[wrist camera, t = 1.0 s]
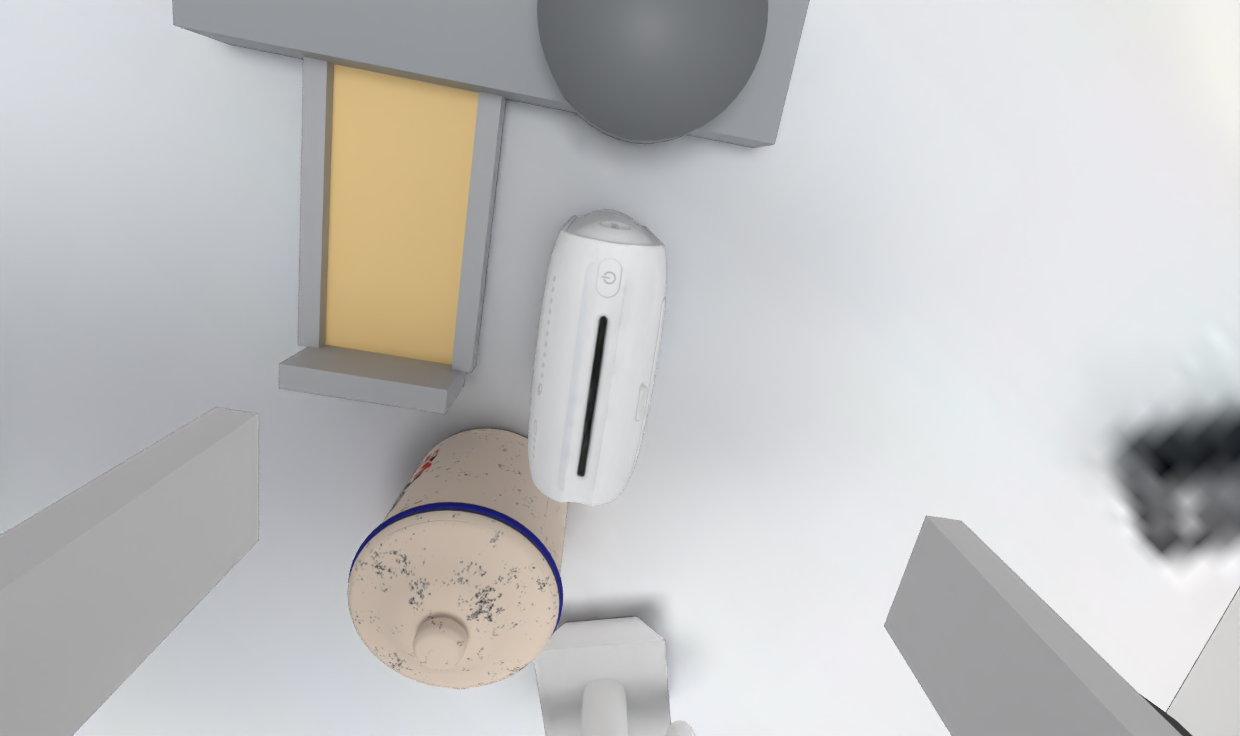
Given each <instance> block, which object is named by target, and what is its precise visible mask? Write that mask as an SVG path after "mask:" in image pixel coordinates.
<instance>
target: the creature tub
mask: <svg viewBox="0 0 1240 736" xmlns="http://www.w3.org/2000/svg"><path fill="white" fill-rule="evenodd" d="M1166 713H1167V714H1168V715H1170V716H1171V717H1172V718H1174V719H1175V720H1177V721H1178V722H1179V723H1180V724H1181V725H1182V726H1183V727H1184V728H1185V729H1186V730H1187V731H1188V732H1189V733H1190V734H1191V735H1192V736H1240V588H1239V590H1238V592H1237V593H1236V595H1235V597H1234V598H1233V600H1232V602H1231V604H1230V605H1229V607H1228V609H1227V610H1226V612H1225V614H1224V615H1223V617H1222V619H1221V621H1220V622H1219V624H1218V626H1217V627H1216V629H1215V631H1214V632H1213V634H1212V636H1211V638H1210V639H1209V641H1208V643H1207V644H1206V646H1205V648H1204V649H1203V651H1202V653H1201V655H1200V656H1199V658H1198V660H1197V661H1196V663H1195V665H1194V666H1193V668H1192V670H1191V672H1190V673H1189V675H1188V677H1187V678H1186V680H1185V682H1184V683H1183V685H1182V687H1181V689H1180V690H1179V692H1178V694H1177V695H1176V697H1175V699H1174V700H1173V702H1172V704H1171V706H1170V707H1169V709H1168V711H1167V712H1166Z"/></svg>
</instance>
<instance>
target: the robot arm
mask: <svg viewBox="0 0 1240 736" xmlns="http://www.w3.org/2000/svg"><path fill="white" fill-rule="evenodd" d="M258 540H259V419H258V413H251V412H245V411H238V410H231V409H225V408H218V407H215V408H214V409H212V410H210V411H209V412H207V413H205V414H203V415H202V416H200V417H198V418H197V419H195V420H193V421H192V422H190V423H188V424H187V425H185V426H183V427H182V428H180V429H178V430H177V431H175V432H173V433H171V434H170V435H168V436H166V437H165V438H163V439H161V440H160V441H158V442H156V443H155V444H153V445H151V446H150V447H148V448H146V449H145V450H143V451H141V452H140V453H138V454H136V455H134V456H133V457H131V458H129V459H128V460H126V461H124V462H123V463H121V464H119V465H118V466H116V467H114V468H113V469H111V470H109V471H108V472H106V473H104V474H103V475H101V476H99V477H97V478H96V479H94V480H92V481H91V482H89V483H87V484H86V485H84V486H82V487H81V488H79V489H77V490H76V491H74V492H72V493H71V494H69V495H67V496H65V497H64V498H62V499H60V500H59V501H57V502H55V503H54V504H52V505H50V506H49V507H47V508H45V509H44V510H42V511H40V512H39V513H37V514H35V515H34V516H32V517H30V518H28V519H27V520H25V521H23V522H22V523H20V524H18V525H17V526H15V527H13V528H12V529H10V530H8V531H7V532H5V533H3V534H2V535H0V736H73V735H74V733H75V732H76V731H77V730H78V729H79V728H80V727H81V726H82V725H83V724H84V723H85V722H86V721H87V720H88V719H89V718H90V717H91V716H92V715H93V714H94V712H95V711H96V710H97V709H98V708H99V707H100V706H101V705H102V704H103V703H104V702H105V701H106V700H107V699H108V698H109V697H110V696H111V695H112V694H113V693H114V691H115V690H116V689H117V688H118V687H119V686H120V685H121V684H122V683H123V682H124V681H125V680H126V679H127V678H128V677H129V676H130V675H131V674H132V673H133V672H134V670H135V669H136V668H137V667H138V666H139V665H140V664H141V663H142V662H143V661H144V660H145V659H146V658H147V657H148V656H149V655H150V654H151V653H152V652H153V651H154V650H155V648H156V647H157V646H158V645H159V644H160V643H161V642H162V641H163V640H164V639H165V638H166V637H167V636H168V635H169V634H170V633H171V632H172V631H173V630H174V629H175V627H176V626H177V625H178V624H179V623H180V622H181V621H182V620H183V619H184V618H185V617H186V616H187V615H188V614H189V613H190V612H191V611H192V610H193V609H194V608H195V606H196V605H197V604H198V603H199V602H200V601H201V600H202V599H203V598H204V597H205V596H206V595H207V594H208V593H209V592H210V591H211V590H212V589H213V588H214V587H215V585H216V584H217V583H218V582H219V581H220V580H221V579H222V578H223V577H224V576H225V575H226V574H227V573H228V572H229V571H230V570H231V569H232V568H233V567H234V566H235V564H236V563H237V562H238V561H239V560H240V559H241V558H242V557H243V556H244V555H245V554H246V553H247V552H248V551H249V550H250V549H251V548H252V547H253V546H254V545H255V543H256V542H257V541H258ZM884 627H885V628H886V630H887V632H888V633H889V635H890V636H891V638H892V640H893V641H894V643H895V645H896V646H897V648H898V649H899V651H900V653H901V654H902V656H903V658H904V659H905V661H906V662H907V664H908V666H909V667H910V669H911V671H912V672H913V674H914V675H915V677H916V679H917V680H918V682H919V684H920V685H921V687H922V688H923V690H924V692H925V693H926V695H927V697H928V698H929V700H930V701H931V703H932V705H933V706H934V708H935V710H936V711H937V713H938V714H939V716H940V718H941V719H942V721H943V723H944V724H945V726H946V727H947V729H948V731H949V732H950V734H951V736H1192V735H1191V734H1190V733H1189V732H1188V731H1187V730H1186V729H1185V728H1184V727H1183V726H1182V725H1181V724H1180V723H1179V722H1178V721H1177V720H1175V719H1174V718H1172V717H1171V716H1170V715H1168V714H1167V713H1165V712H1164V711H1163V710H1161V709H1160V708H1158V707H1157V706H1156V705H1154V704H1153V703H1152V702H1150V701H1149V700H1147V699H1146V698H1145V697H1143V696H1142V695H1140V694H1139V693H1138V692H1137V691H1136V690H1135V689H1134V688H1133V687H1132V686H1131V685H1130V684H1129V683H1128V682H1127V681H1126V680H1125V679H1124V678H1123V677H1121V676H1120V675H1119V674H1118V673H1117V672H1116V671H1115V670H1114V669H1113V668H1112V667H1111V666H1110V665H1109V664H1108V663H1107V662H1106V661H1105V660H1104V659H1103V658H1102V657H1101V656H1100V655H1099V654H1098V653H1097V652H1096V651H1095V650H1094V649H1093V648H1092V647H1091V646H1090V645H1089V644H1088V643H1087V642H1086V641H1085V640H1083V639H1082V638H1081V637H1080V636H1079V635H1078V634H1077V633H1076V632H1075V631H1074V630H1073V629H1072V628H1071V627H1070V626H1069V625H1068V624H1067V623H1066V622H1065V621H1064V620H1063V619H1062V618H1061V617H1060V616H1059V615H1058V614H1057V613H1056V612H1055V611H1054V610H1053V609H1052V608H1051V607H1050V606H1049V605H1048V604H1047V603H1045V602H1044V601H1043V600H1042V599H1041V598H1040V597H1039V596H1038V595H1037V594H1036V593H1035V592H1034V591H1033V590H1032V589H1031V588H1030V587H1029V586H1028V585H1027V584H1026V583H1025V582H1024V581H1023V580H1022V579H1021V578H1020V577H1019V576H1018V575H1017V574H1016V573H1015V572H1014V571H1013V570H1012V569H1011V568H1010V567H1009V566H1007V565H1006V564H1005V563H1004V562H1003V561H1002V560H1001V559H1000V558H999V557H998V556H997V555H996V554H995V553H994V552H993V551H992V550H991V549H990V548H989V547H988V546H987V545H986V544H985V543H984V542H983V541H982V540H981V539H980V538H979V537H978V536H977V535H976V534H975V533H974V532H973V531H972V530H971V529H969V528H968V527H967V526H966V525H965V524H964V523H963V522H962V521H959V520H953V519H946V518H939V517H933V516H926V517H925V520H924V522H923V525H922V527H921V530H920V533H919V535H918V538H917V540H916V543H915V546H914V548H913V551H912V554H911V556H910V559H909V561H908V564H907V567H906V569H905V572H904V575H903V577H902V580H901V582H900V585H899V588H898V590H897V593H896V595H895V598H894V601H893V603H892V606H891V609H890V611H889V614H888V616H887V619H886V622H885V624H884Z"/></svg>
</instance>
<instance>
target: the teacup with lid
mask: <svg viewBox="0 0 1240 736" xmlns="http://www.w3.org/2000/svg"><path fill="white" fill-rule="evenodd" d="M567 506H568V502H558V501H556V500H554V499H552V498H550V497H548V496H546V495H545V494H543V493H542V492H541V491H540V490H539V489H538V488H537V487H536V486H535V484H534V482H533V480H532V476H531V471H530V466H529V459H528V439H527V438H525V437H523V436H520V435H518V434H515V433H512V432H509V431H505V430H499V429H474V430H468V431H464V432H461V433H458V434H455V435H453V436H450V437H448V438H447V439H445V440H443V441H442V442H440V443H439V444H437V445H436V446H435V447H434V448H433V449H431V450H430V451H429V452H428V454H427V455H426V456H425V457H424V458H423V460H422V461H421V463H420V464H419V466H418V467H417V469H416V471H415V472H414V474H413V475H412V477H411V478H410V480H409V482H408V483H407V485H406V486H405V488H404V489H403V491H402V493H401V494H400V496H399V497H398V499H397V500H396V502H395V504H394V505H393V507H392V508H391V510H390V512H389V513H388V515H387V516H386V518H385V519H384V521H383V523H382V524H380V525H379V526H378V527H377V528H376V529H374V530H373V531H372V532H371V534H370V535H369V536H368V537H367V538H366V539H365V541H364V542H363V543H362V545H361V546H360V548H359V550H358V551H357V553H356V555H355V558H354V560H353V562H352V566H351V569H350V574H349V581H348V604H349V610H350V614H351V617H352V620H353V623H354V626H355V628H356V630H357V632H358V634H359V636H360V637H361V639H362V640H363V642H364V643H365V645H366V646H367V647H368V648H369V649H370V651H371V652H372V653H373V654H374V655H375V656H376V657H377V658H378V659H379V660H381V661H382V662H383V663H384V664H386V665H387V666H388V667H390V668H391V669H393V670H394V671H396V672H398V673H400V674H402V675H404V676H406V677H408V678H410V679H413V680H416V681H419V682H422V683H425V684H429V685H434V686H439V687H448V688H454V689H467V688H469V687H477V686H482V685H487V684H490V683H494V682H497V681H500V680H502V679H505V678H507V677H509V676H511V675H513V674H515V673H516V672H518V671H520V670H521V669H522V668H524V667H525V666H527V665H528V664H529V663H530V662H531V661H532V660H534V659H535V658H536V657H537V656H538V655H539V653H540V652H541V651H542V650H543V649H544V647H545V646H546V645H547V643H548V641H549V640H550V638H551V637H552V635H553V633H554V631H555V629H556V627H557V625H558V622H559V619H560V616H561V611H562V605H563V588H562V582H561V577H560V572H561V562H562V553H563V544H564V535H565V525H566V516H567Z"/></svg>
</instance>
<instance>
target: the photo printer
mask: <svg viewBox="0 0 1240 736" xmlns="http://www.w3.org/2000/svg"><path fill="white" fill-rule="evenodd" d="M666 282H667V265H666V252H665V246H664V244H663V243H662V242H661V241H660V240H659V239H658V238H657V237H656V236H655V235H654V234H653V233H652V232H651V231H650V230H649V229H648V228H647V227H644V226H638V225H637V224H636V223H635V222H634V221H633V220H632V219H631V218H630V217H628V216H626V215H625V214H623V213H621V212H618V211H614V210H597V211H594V212H591V213H589V214H587V215H585V216H584V217H580V216H573V217H572V218H571V219H570V220H569V221H568V222H567V223H566V224H565V225H564V226H563V228H562V229H561V231H560V233H559V235H558V237H557V240H556V243H555V246H554V249H553V252H552V256H551V259H550V263H549V267H548V272H547V278H546V284H545V290H544V296H543V302H542V308H541V316H540V322H539V329H538V337H537V345H536V353H535V362H534V371H533V381H532V391H531V402H530V416H529V432H528V459H529V466H530V471H531V476H532V480H533V482H534V484H535V486H536V487H537V488H538V489H539V490H540V491H541V492H542V493H543V494H545V495H546V496H548V497H550V498H552V499H554V500H556V501H558V502H577V503H582V504H585V505H588V506H598V505H602V504H605V503H608V502H610V501H612V500H614V499H615V498H617V497H618V496H619V495H620V494H621V492H622V491H623V489H624V487H625V485H626V484H627V482H628V480H629V477H630V475H631V474H632V472H633V470H634V467H635V464H636V461H637V458H638V454H639V450H640V446H641V442H642V438H643V434H644V430H645V425H646V421H647V416H648V412H649V407H650V402H651V396H652V391H653V386H654V381H655V375H656V369H657V363H658V357H659V350H660V345H661V337H662V330H663V322H664V314H665V303H666V297H665V295H666Z"/></svg>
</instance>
